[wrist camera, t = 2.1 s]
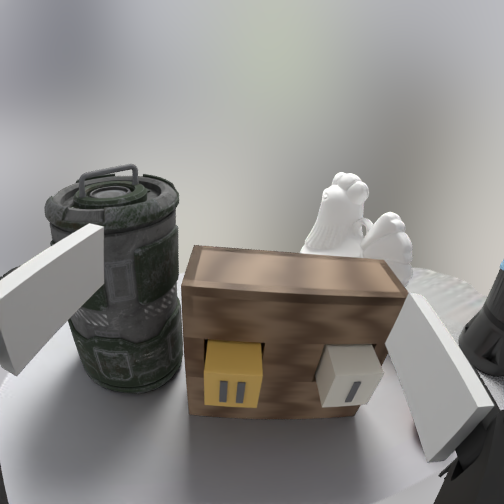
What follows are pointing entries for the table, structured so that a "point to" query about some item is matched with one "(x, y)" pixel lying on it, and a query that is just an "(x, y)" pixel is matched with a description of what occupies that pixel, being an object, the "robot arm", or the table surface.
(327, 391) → the button one
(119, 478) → the table surface
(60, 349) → the table surface
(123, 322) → the canister
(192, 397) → the console
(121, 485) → the table surface
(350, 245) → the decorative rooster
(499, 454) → the robot arm
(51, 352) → the table surface
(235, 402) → the button two
